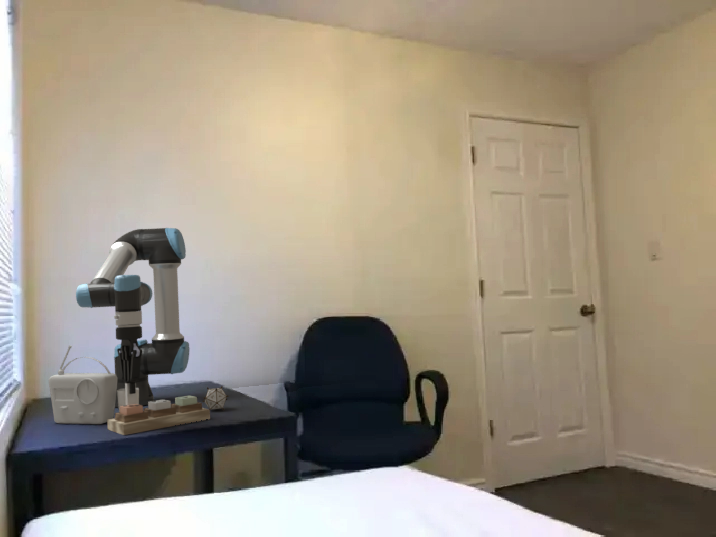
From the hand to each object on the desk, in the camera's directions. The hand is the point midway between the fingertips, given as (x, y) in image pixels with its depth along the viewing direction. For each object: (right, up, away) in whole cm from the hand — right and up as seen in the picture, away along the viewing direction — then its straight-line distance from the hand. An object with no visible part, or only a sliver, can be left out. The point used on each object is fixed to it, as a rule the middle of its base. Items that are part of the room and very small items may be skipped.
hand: (131, 404), depth 197 cm
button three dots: (0, -3, 0) cm, 3 cm away
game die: (+20, -8, +26) cm, 34 cm away
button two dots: (+7, -3, +6) cm, 10 cm away
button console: (+7, -7, +6) cm, 12 cm away
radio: (-20, -9, +14) cm, 26 cm away
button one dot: (+13, -3, +12) cm, 18 cm away
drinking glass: (-5, -8, +14) cm, 17 cm away
